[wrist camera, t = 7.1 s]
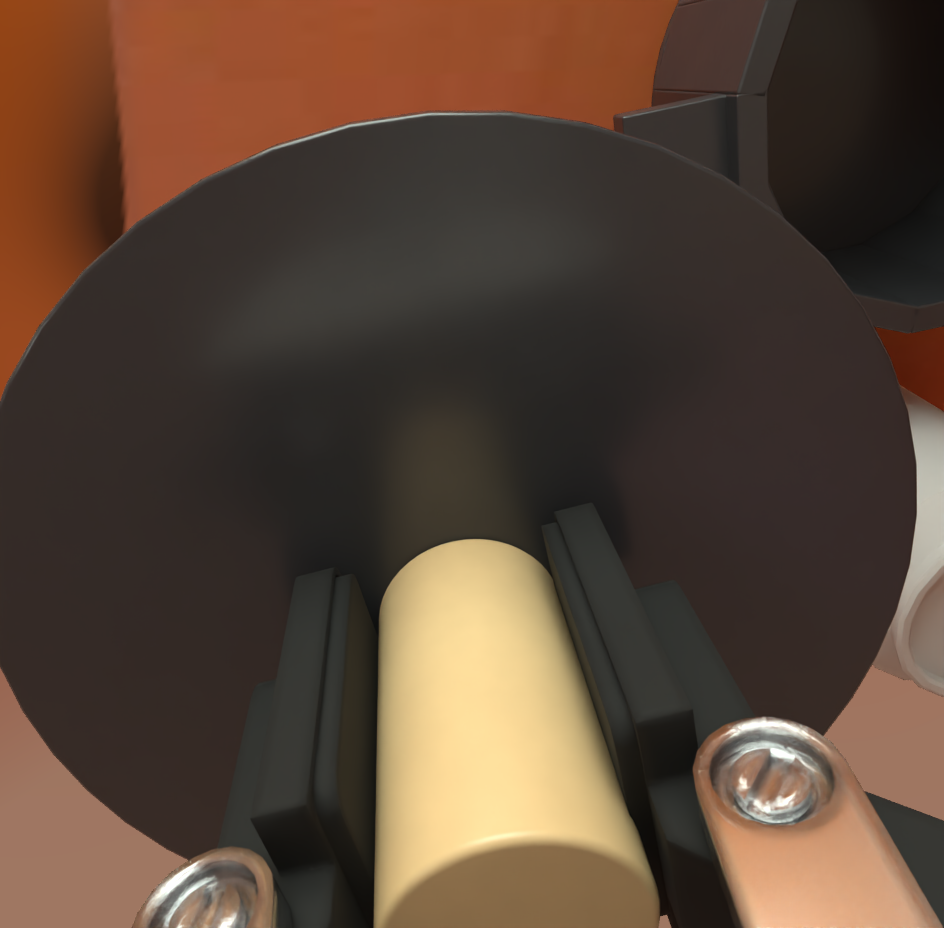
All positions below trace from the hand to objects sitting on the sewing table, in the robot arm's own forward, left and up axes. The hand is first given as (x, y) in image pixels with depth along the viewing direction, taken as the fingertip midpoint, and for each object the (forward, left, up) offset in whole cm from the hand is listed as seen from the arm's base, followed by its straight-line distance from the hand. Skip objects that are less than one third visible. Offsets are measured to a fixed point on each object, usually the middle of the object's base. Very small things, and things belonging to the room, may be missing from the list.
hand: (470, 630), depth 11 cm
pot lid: (0, 0, -1) cm, 1 cm away
